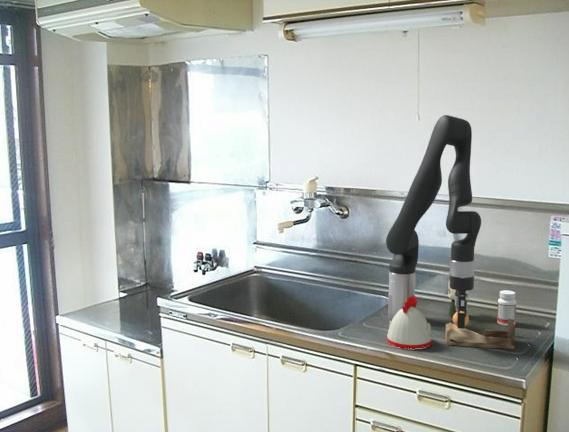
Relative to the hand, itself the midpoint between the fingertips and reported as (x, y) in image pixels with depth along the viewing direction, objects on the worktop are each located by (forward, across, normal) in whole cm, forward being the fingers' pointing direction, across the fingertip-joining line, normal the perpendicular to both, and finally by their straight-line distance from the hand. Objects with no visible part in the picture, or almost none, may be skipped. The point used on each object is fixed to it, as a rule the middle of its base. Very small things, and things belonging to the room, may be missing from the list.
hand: (460, 325), depth 201 cm
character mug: (+6, -28, +1) cm, 28 cm away
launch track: (+7, 0, +6) cm, 9 cm away
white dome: (+6, +4, -16) cm, 17 cm away
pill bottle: (+6, -22, +17) cm, 28 cm away
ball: (-2, 0, 0) cm, 2 cm away
